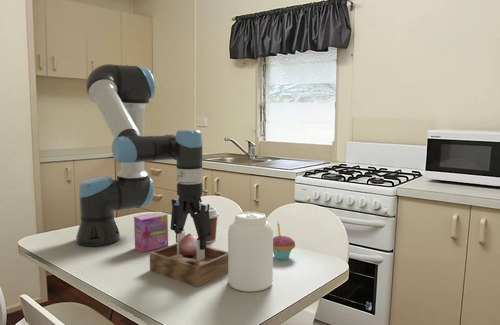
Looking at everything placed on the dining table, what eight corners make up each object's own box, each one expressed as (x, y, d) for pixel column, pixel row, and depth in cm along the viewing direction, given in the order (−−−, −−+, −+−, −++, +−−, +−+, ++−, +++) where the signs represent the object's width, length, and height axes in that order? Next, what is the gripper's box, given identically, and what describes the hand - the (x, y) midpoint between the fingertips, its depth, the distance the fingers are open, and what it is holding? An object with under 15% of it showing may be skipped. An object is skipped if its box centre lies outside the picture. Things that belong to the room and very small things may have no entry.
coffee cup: (192, 243, 148) (191, 211, 147) (198, 236, 157) (197, 205, 156) (216, 244, 147) (216, 212, 146) (221, 237, 156) (221, 206, 155)
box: (142, 252, 138) (141, 219, 137) (134, 248, 142) (133, 216, 141) (168, 246, 145) (168, 214, 144) (161, 242, 149) (160, 211, 148)
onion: (185, 255, 127) (190, 232, 128) (206, 260, 124) (211, 237, 125) (172, 255, 120) (177, 231, 121) (194, 261, 117) (200, 236, 118)
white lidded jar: (278, 289, 110) (279, 218, 107) (234, 295, 106) (234, 221, 104) (264, 272, 122) (264, 207, 119) (223, 277, 118) (223, 210, 116)
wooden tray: (149, 270, 123) (149, 252, 122) (185, 256, 135) (185, 240, 134) (197, 287, 111) (197, 267, 111) (231, 270, 123) (231, 252, 122)
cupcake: (263, 257, 134) (264, 222, 133) (279, 251, 141) (280, 217, 139) (284, 263, 129) (284, 227, 127) (300, 257, 135) (300, 222, 133)
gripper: (156, 180, 123) (158, 252, 126) (206, 187, 111) (207, 267, 113) (175, 177, 129) (176, 246, 132) (224, 184, 117) (224, 260, 119)
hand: (190, 256), depth 123 cm, fingers closed on onion, 8 cm apart
